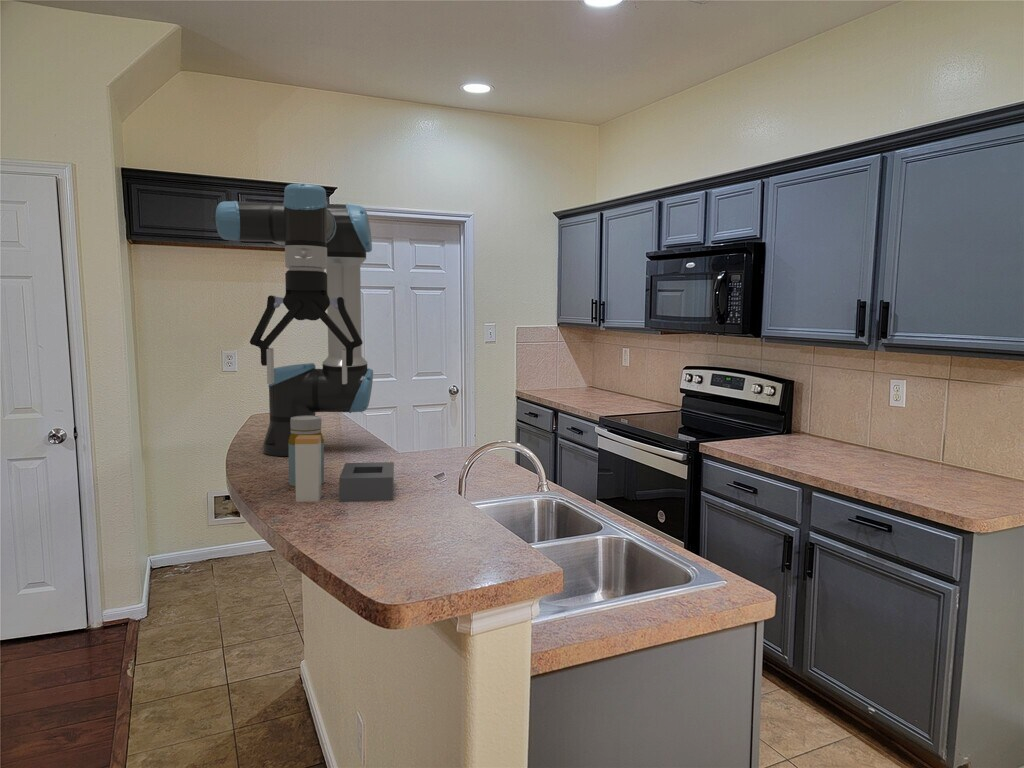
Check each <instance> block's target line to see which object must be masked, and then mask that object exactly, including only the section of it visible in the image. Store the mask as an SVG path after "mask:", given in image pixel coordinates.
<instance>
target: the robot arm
mask: <svg viewBox="0 0 1024 768" xmlns="http://www.w3.org/2000/svg"><path fill="white" fill-rule="evenodd" d="M283 191H284V195H283V196H284V198H283V202H280V203H279V202H259V201H258V202H256V201H253V202H252V201H237V200H233V201H228V200H227V201H221V202H219V203H218V204H217V206H216V210H215V226H216V227H215V228H216V230H217V234H218V235H219V237H220V238H221V239H222V240H225V241H235V242H240V241H241V242H273V243H274V244H277V245H279V246H284V266H285V268H287V269H288V270H287V271H286V272H285V275H284V277H285V278H284V279H285V280H284V281H285V294H284V296H283V297H280V296H276V295H268V297H267V301H266V307H265V310H264V312H263V313H262V316H261V318H260V319H259V322H258V324H257V326H256V328H255V330H254V332H253V333H252V335H251V338H250V340H249V344H250V345H252V346H256V347H258V348H259V350H260V364H261V366H262V367H263V366H264V367H266V384H267V385H268V393H269V394H268V397H269V398H268V399H269V400H268V402H269V403H268V405H269V424H268V428H267V431H266V434H265V437H264V440H263V443H262V453H263V454H265V455H267V456H268V455H269V456H276V457H289V445H288V443H289V438H290V435H291V428H290V419H291V417H295V416H316V413H349V414H351V413H363V412H365V411H366V410H368V408H369V404H370V400H371V395H372V391H373V390H372V387H373V381H374V370H373V369H371V368H369V367H368V361H367V360H366V359H365V358H364V357H363V356H362V355H363V354H362V345H363V344H364V343H363V340H362V303H361V302H362V295H361V293H362V291H361V290H362V289H361V287H362V286H361V265H362V264H363V263H364V262H365V261H366V260H367V253H371V252H372V250H373V243H372V241H373V239H372V233H371V225H370V221H369V220H370V219H369V217H368V212H367V210H366V209H365V208H364V206H361V205H354V204H348V203H346V204H341V203H339V204H338V203H328V201H327V192H326V191H327V190H326V189H325V188H324V187H323V186H320V185H317V184H311V183H290V184H287V185H286V186H285V187H284V190H283ZM282 304H283V305H284V306H285V308H286V309H287V312H286V313H285V314H284V316H283V317H282V318H281V320H280V321H279V322H278V323H277V324H276V325H275V326H274V328H273V329H272V330H271V331H270V332H269V333H268V334H267V336H266V337H265V338H264V339H263V340H262V337H263V336H264V333H265V331H266V329H267V328H268V325H269V324H270V322H271V319H272V317H273V315H274V313H275V311H276V309H279V307H281V305H282ZM294 319H296V320H297V321H305V320H308V321H318V320H319V319H320V320H321V321H322V323H324V325H325V326H326V327H327V357H326V358H325V359H324V360H323V361H322V368H316V367H317V366H316V364H315V363H314V362H313V363H311V362H310V363H309V362H308V363H299V364H290V365H283V366H278V367H275V363H274V362H275V358H274V356H275V355H274V354H275V353H274V352H275V351H274V347H273V348H272V347H270V346H271V345H272V344H273V342H274V341H275V340H276V339H277V338H278V337H279V336H280V334H281V333H282V332H283V331H284V330H285V329H286V328H287V327H288V326H289V324H290V323H291V322H292V321H293V320H294Z"/></svg>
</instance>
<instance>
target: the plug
mask: <svg viewBox="0 0 1024 768" xmlns="http://www.w3.org/2000/svg"><path fill="white" fill-rule="evenodd" d="M295 478H296V488H295V503H304V502H305V503H306V502H307V503H308V502H320V500H321V498H322V485H321V435H298V436H297V437H296V439H295Z"/></svg>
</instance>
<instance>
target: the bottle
mask: <svg viewBox="0 0 1024 768" xmlns="http://www.w3.org/2000/svg"><path fill="white" fill-rule="evenodd" d="M290 428H291V435H290V438H289V443H288V445H289V456H288V485H289V487H292V488H294V489H296V478H295V439H296V437H297V436H298V435H321V486H323V485H324V484H325V449H324V448H325V447H324V446H325V442H324V440H325V439H324V437H323V434H322V417H321V416H318V415H315V416H295V417H291V419H290Z"/></svg>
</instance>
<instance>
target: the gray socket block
mask: <svg viewBox="0 0 1024 768" xmlns="http://www.w3.org/2000/svg"><path fill="white" fill-rule="evenodd" d="M394 464H395V463H394V462H393V461H390V462H389V461H386V462H384V461H383V462H382V461H381V462H380V461H379V462H377V461H376V462H345V463H344V465H343V469H342V471H341V473H340V475H339V478H338V479H339V480H338V481H339V482H338V488H339V489H338V490H339V491H338V493H339V496H338V497H339V501H338V503H350V502H351V503H352V502H354V503H355V502H356V503H357V502H388V501H389V502H390V501H392V502H393V501H394V488H395V487H394V486H395V485H394V484H395V480H394V479H395V478H394V477H395V475H394V474H395V468H394V467H395V465H394Z"/></svg>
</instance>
